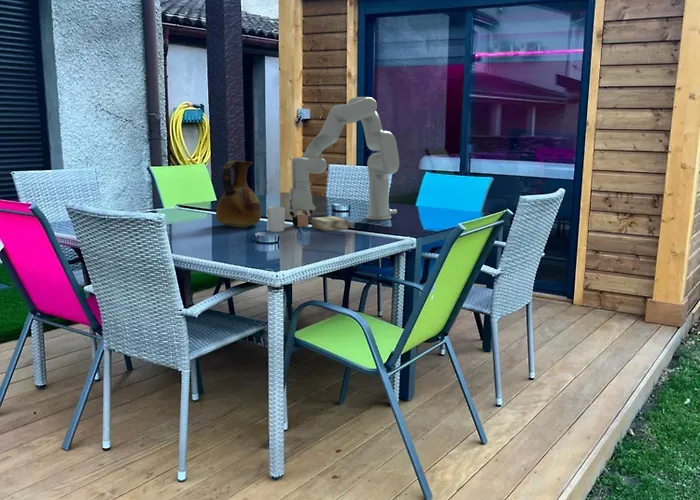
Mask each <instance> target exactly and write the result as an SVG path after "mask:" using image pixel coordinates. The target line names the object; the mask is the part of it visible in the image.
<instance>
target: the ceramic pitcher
mask: <svg viewBox="0 0 700 500" xmlns="http://www.w3.org/2000/svg"><path fill="white" fill-rule="evenodd" d="M252 164H253V161H247V160H246V161H245V160H244V161H243V160H234V159H231V160H228V162H226V163H225V164H224V165H223V167H222V169H221V181H222V185H223V188H224V192H223V193H222V195H221V196H220V199H219V200H218V203H217V206H216V208H215V209H216V210H215V218H216V221H217V223H219V224H222V225H224V226H229V227H236V228H248V227H250V226H252V225H255V224H258V223H259V222H260V221H261V217H262V211H261V210H262V209H261V204H260V200H259V198H258V197H257V195H256V193H255V191H253V189H252V188H250V187H249V185H248V182H247V181H248V180H247V176H248V175H247V174H248V169H249V167H250V166H251V165H252ZM232 170H233V181H232V175H231V174H232V173H231V172H232Z"/></svg>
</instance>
